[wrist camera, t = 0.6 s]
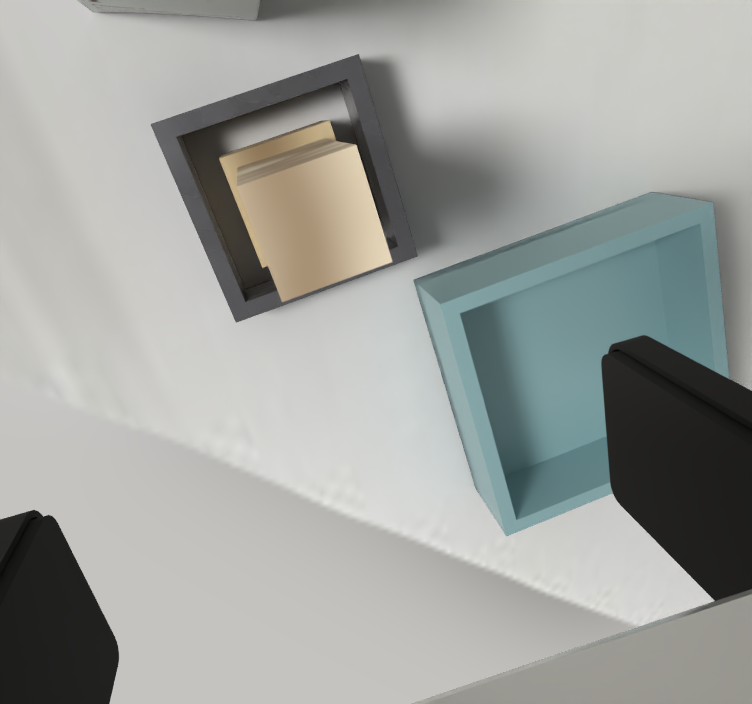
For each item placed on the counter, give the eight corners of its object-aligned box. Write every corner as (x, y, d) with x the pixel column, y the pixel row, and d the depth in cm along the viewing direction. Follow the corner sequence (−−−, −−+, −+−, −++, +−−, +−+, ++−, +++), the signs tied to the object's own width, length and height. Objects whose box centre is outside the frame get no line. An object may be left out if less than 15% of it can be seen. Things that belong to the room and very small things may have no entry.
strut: (321, 120, 31) (368, 119, 20) (354, 221, 33) (413, 272, 22) (220, 155, 30) (210, 174, 19) (260, 255, 32) (271, 324, 21)
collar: (349, 59, 30) (358, 53, 28) (405, 247, 34) (417, 256, 31) (157, 124, 29) (150, 124, 27) (236, 308, 33) (236, 322, 31)
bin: (651, 192, 35) (713, 202, 31) (679, 407, 41) (735, 443, 36) (413, 279, 34) (440, 304, 30) (475, 488, 40) (506, 536, 35)
